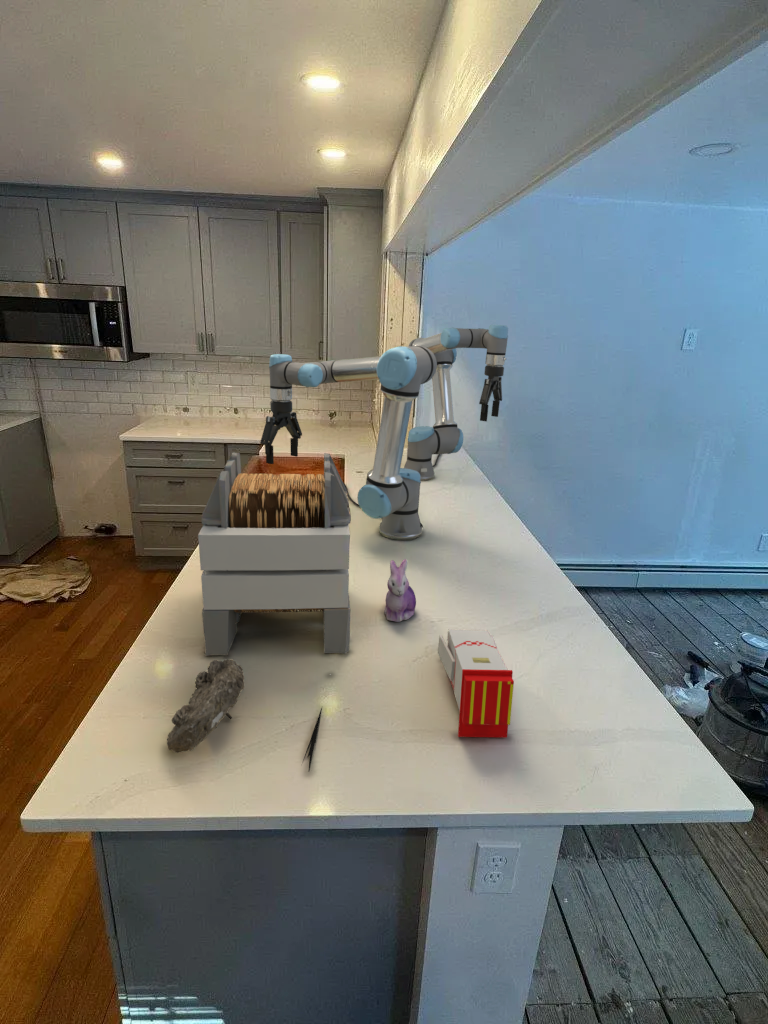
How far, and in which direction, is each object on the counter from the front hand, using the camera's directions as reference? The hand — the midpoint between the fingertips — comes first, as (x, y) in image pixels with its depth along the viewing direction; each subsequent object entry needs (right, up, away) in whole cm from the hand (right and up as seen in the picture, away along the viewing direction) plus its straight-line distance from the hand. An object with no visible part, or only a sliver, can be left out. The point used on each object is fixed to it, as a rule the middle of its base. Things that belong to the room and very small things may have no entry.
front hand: (282, 459), depth 204 cm
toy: (+55, -56, -86) cm, 116 cm away
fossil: (+4, -58, -96) cm, 112 cm away
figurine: (+41, -45, -57) cm, 83 cm away
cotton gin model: (+11, -46, -61) cm, 77 cm away
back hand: (+80, +20, +29) cm, 87 cm away
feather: (+24, -59, -96) cm, 115 cm away
